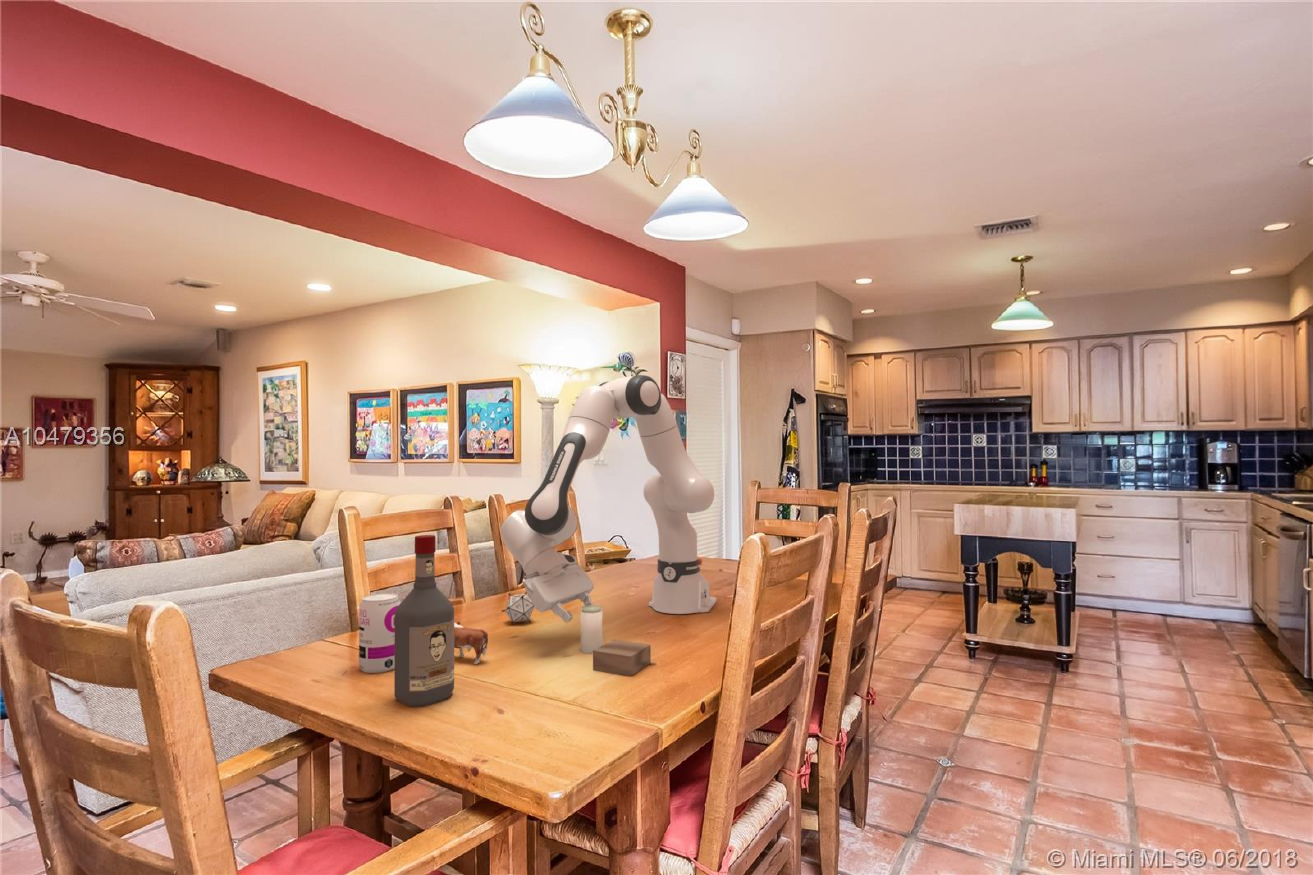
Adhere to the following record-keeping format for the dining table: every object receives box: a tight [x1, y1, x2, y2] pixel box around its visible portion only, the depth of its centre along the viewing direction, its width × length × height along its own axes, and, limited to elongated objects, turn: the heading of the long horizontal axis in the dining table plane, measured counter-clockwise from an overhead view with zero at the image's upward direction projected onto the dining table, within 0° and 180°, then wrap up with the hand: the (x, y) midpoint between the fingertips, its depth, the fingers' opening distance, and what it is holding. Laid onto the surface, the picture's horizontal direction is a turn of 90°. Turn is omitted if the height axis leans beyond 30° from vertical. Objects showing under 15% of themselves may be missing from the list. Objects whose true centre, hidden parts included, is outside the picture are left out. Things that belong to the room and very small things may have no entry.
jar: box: [580, 604, 603, 654], centre depth 152 cm, size 5×5×10 cm
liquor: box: [393, 534, 455, 707], centre depth 123 cm, size 9×9×30 cm
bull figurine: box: [454, 621, 489, 665], centre depth 145 cm, size 4×13×8 cm, turn 59°
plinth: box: [592, 638, 652, 677], centre depth 140 cm, size 9×9×4 cm
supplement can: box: [358, 592, 402, 674], centre depth 140 cm, size 8×8×15 cm
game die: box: [501, 591, 535, 626], centre depth 176 cm, size 9×8×10 cm
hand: (581, 615), depth 153 cm, fingers open, 8 cm apart
